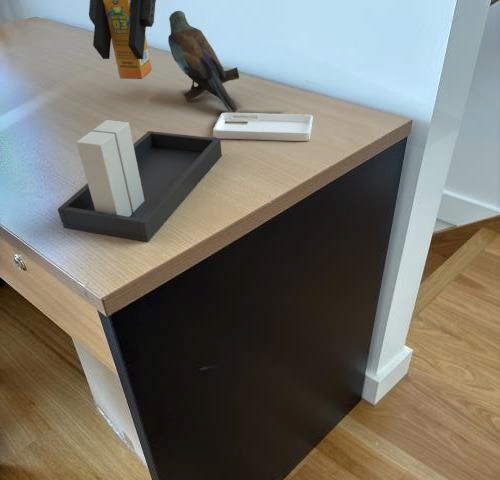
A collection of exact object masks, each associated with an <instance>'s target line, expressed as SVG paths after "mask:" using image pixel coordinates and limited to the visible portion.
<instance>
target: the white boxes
mask: <svg viewBox="0 0 500 480" xmlns="http://www.w3.org/2000/svg"><path fill="white" fill-rule="evenodd" d="M133 144H134V141H133V135H132V130H131V126H130V122H129V121H119V120H111V119H110V120H109V119H106V120H104V121H103V122H102V123H100V124H99V125H98V126H96V127H95V128H94V129H92V131H91V130H90V131H89V132H88V133H86V134H85V135H84V136H82V137H81V138H80V139H78V140H77V141H76V147H77V150H78V153H79V157H80V160H81V164H82V168H83V171H84V175H85V178H86V182H87V183H88V186H89V189H90V193H91V197H92V200H93V204H94V207H95V211H97V212H103V213H109V214H116V215H122V216H128V217H130V216H131V214H132V212H134V211H135V210H136V209H137V208H138V207H139V206H140V205H141V204H142V203H143V202H144V196H143V191H142V186H141V181H140V176H139V171H138V166H137V161H136V156H135V151H134V146H133Z"/></svg>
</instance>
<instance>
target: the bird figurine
mask: <svg viewBox="0 0 500 480" xmlns="http://www.w3.org/2000/svg"><path fill="white" fill-rule="evenodd" d="M168 20H169V27H170V34H169V35H168V36H167V37H168V39H167V41H168V47H169V49H170V52H171V55H172V58H173V60H174V61H175V63H176V64H177V65H178V67H179V68H180V70H181V71H182V72H183V73H184V74H185V75H186V76H187V77H188V78H189V79H191V81H192V83H191V86H190V89H189V90H188V91H186V92H184V93H183V97H184V99H185V101H186V102H189V101H190V100H193V99H195V98H197V97H198V96H201V95H202V94H204V92H206V91H207V92H208V93H210V94H211V95H213V96H215V97H217V98H218V99H219V100H220V101H221V103H222V104H223V105H224V107H225V108H226V109H227V110H228V112H229V113H237V111H238V110H239V109H238V107H237V105H236V104H235V102H234V100H233V99H232V98H231V96H230V94H229V93H228V92H227V89H226V88H225V86H224V85H223V84H225V83H228V82H230V81H235V80H239V79H240V73H239V68H238V67H237V66H236V67H234V68H231V69H228V70H225V68H224V67H223V65H222V63H221V62H220V59H219V58H218V56H217V54H216V52H215V50H214V48H213V47H212V45H211V44H210V43H209V41H208V39H207V38H206V36H205V35H204V33H203V32H202V30H201V29H198V28H196V27H194V26H192V25H190V24H189V22H188V20H187V18H186V14H185V12H183V11H182V10H176V11H173V12H172V13H171V14H170V15H169V18H168ZM195 84H197V85H196V86H195Z"/></svg>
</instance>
